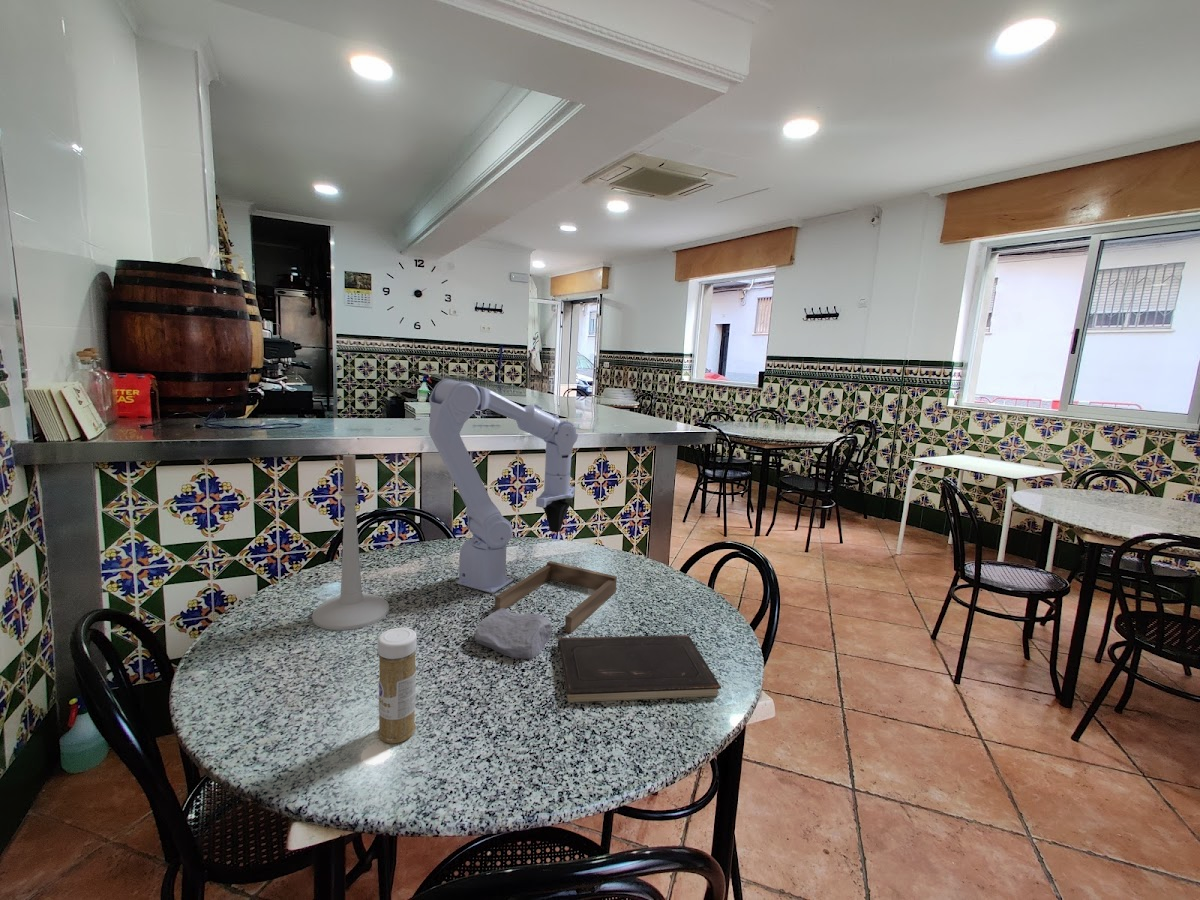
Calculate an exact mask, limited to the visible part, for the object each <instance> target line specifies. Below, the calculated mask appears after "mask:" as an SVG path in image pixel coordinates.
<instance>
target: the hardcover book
mask: <svg viewBox="0 0 1200 900" xmlns="http://www.w3.org/2000/svg"><path fill="white" fill-rule="evenodd" d="M557 647H559V652H560V660H561V664H562V665H561V666H562V672H563V678H564V684H565V691H566V698H567V703H581V702H585V703H586V702H605V701H607V702H608V701H629V700H631V701H632V700H634V701H635V700H653V699H654V700H655V699H675V698H679V699H680V698H696V697H698V698H701V697H718V696H719V694H720V693H719V690H720V689H722V685H721V684H720V683H719V682H718V680H717V679H716V676H715V674H713V672H712V670H711V668H710V667H709V665H708V664H707V662H706V661H705V659H704V657H703V656H702V655H701V653H700V651H699V649H698V647H696V644H695V643H694V641H693V640H692V638H691V637H690V635H689V634H679V635H677V634H675V635H674V634H671V635H670V634H669V635H636V636H635V635H634V636H633V635H632V636H631V635H630V636H629V635H628V636H627V635H626V636H592V637H591V636H589V637H587V636H586V637H585V636H584V637H583V636H581V637H558V639H557Z"/></svg>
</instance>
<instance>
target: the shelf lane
mask: <svg viewBox="0 0 1200 900" xmlns="http://www.w3.org/2000/svg"><path fill="white" fill-rule="evenodd" d="M551 579H552V580H556V581H560V582H564V583H567V584H572V585H575V586H579V587H584V588H587V589H592V590H595V591H594V592H593V593H591V594H590V595H588V597H587V598H585V599H584V600H583V601H582V602H580V603H579V604H578V605H577V606H576V607H575V608H573V610H571V611H570V612H569V613H568V614H566V615H565V620H564V621H565V623H564V632H565V633H568V634H572V633H573V632H574V631H575V630H576V629H577V628H579V627H580V625H582V624H583V623H584V622H586V620H587V619H588V618H590V616H592V614H594V613H595V612H596V611H597V610H599V608H600V607H602V605H604V604H605V603H606V601H608V600H609V599H610V598H611V597H612V596H613V595H614V594H616V593H617V591H616V590H617V580H618V577H617V576H616V575H612V574H607V573H603V572H600V571H599V572H598V571H596V570H591V569H586V568H582V567H578V566H575V565H574V566H573V565H569V564H564V563H560V562H557V561H552V560H549V561H547V562H546V565H544V566H543V567H541V568H539V569H538V570H536V571H535V572H533V573H531V574H529V575H528V576H526V577H525V578H523V579H522V580H520V581H518V582H516V583H515V584H513V585H512V586H510V587H509V588H507V589H505V590H504V591H502V592H501V593H499V594H497V595H495V597H494V612H495V611H497V610H498V609H501V608H504V609H507V610H508V609H509V608H510V607H512V606H513V605H514V604H515V603H517V602H519V601H520V600H522V598H524V597H526V596H527V595H529V594H531V593H532V592H533V591H535V590H537V589H538V588H540V587H541V586H542V585H544V584H545V583H547V582H548V581H550V580H551Z"/></svg>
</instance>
